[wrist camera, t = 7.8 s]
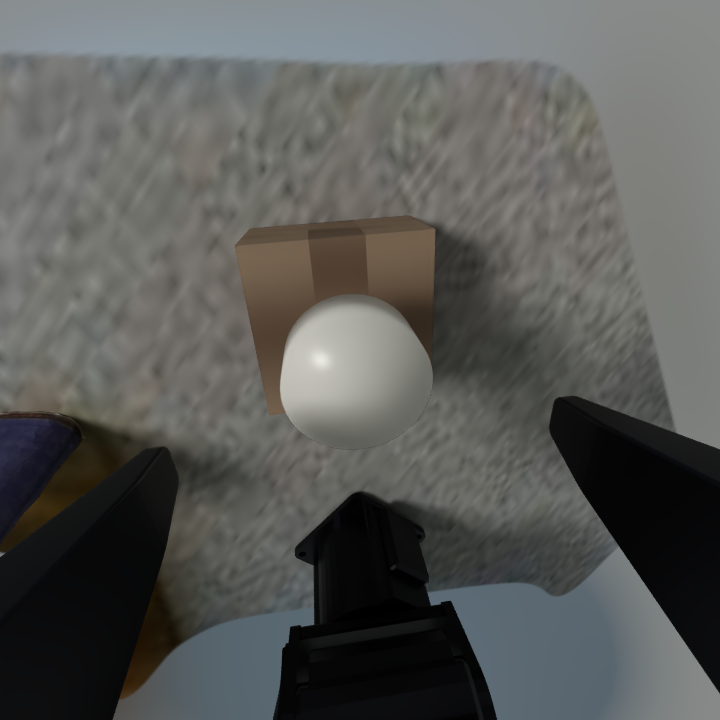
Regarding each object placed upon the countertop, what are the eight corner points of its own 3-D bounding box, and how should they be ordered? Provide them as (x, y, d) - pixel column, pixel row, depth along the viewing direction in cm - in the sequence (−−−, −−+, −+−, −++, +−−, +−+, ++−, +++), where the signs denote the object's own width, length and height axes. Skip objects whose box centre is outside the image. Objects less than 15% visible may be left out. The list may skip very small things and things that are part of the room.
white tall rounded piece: (385, 337, 20) (431, 440, 12) (297, 347, 19) (291, 457, 12) (382, 248, 18) (434, 308, 10) (284, 257, 17) (267, 325, 10)
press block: (409, 355, 20) (431, 395, 17) (276, 370, 20) (269, 415, 16) (409, 215, 17) (435, 228, 14) (249, 228, 17) (234, 245, 13)
